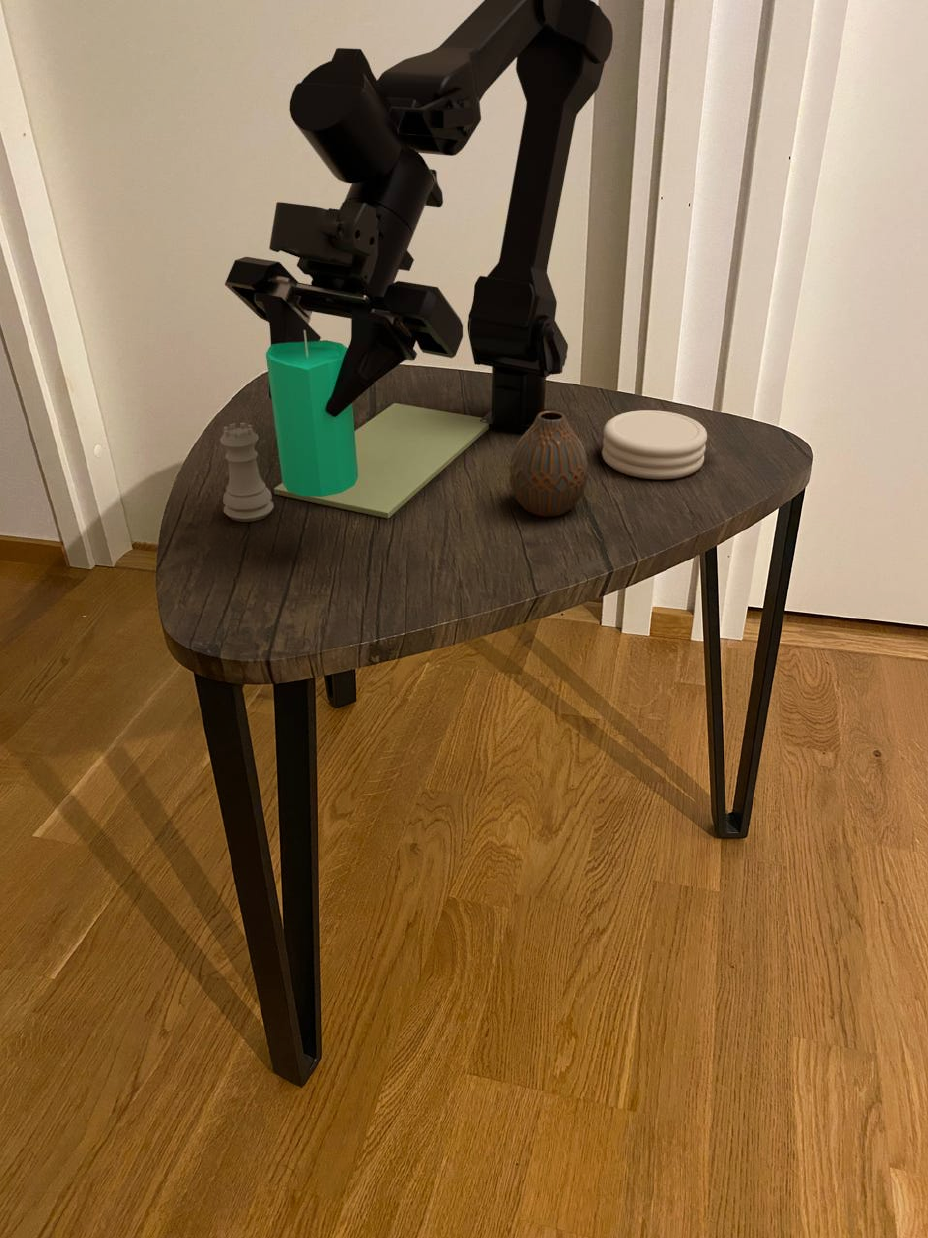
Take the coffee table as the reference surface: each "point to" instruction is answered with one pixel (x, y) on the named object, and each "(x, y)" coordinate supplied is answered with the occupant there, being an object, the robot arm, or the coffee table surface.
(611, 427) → the coaster
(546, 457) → the vase
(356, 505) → the pale green rectangular board
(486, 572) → the coffee table surface
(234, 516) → the rook chess piece
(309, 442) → the candle
